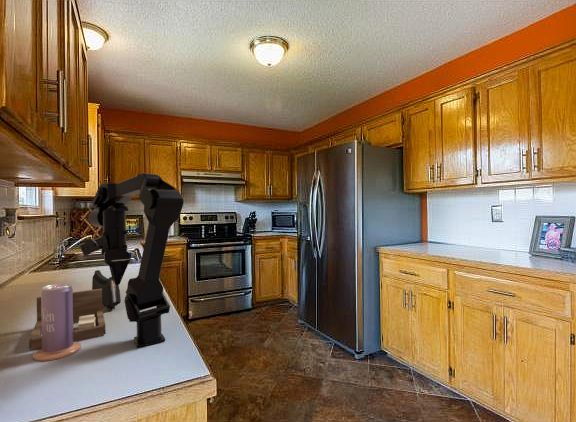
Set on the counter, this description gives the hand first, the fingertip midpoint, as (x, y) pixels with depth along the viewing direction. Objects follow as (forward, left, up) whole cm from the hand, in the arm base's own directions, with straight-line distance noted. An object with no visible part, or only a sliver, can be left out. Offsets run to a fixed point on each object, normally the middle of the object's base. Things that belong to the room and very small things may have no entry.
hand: (115, 281), depth 89 cm
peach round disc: (-10, +13, -13) cm, 21 cm away
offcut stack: (+2, +7, -13) cm, 15 cm away
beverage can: (-10, +13, -13) cm, 21 cm away
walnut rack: (+4, +11, -13) cm, 17 cm away
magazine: (+33, +1, -13) cm, 35 cm away
